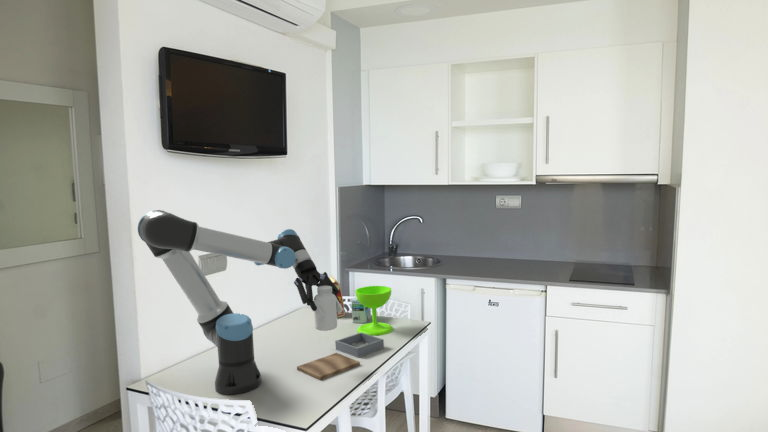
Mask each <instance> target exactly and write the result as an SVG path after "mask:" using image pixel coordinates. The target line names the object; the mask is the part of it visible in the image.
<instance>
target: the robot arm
mask: <svg viewBox="0 0 768 432" xmlns="http://www.w3.org/2000/svg"><path fill="white" fill-rule="evenodd" d="M137 233H138V236H139V238H140V240H141V241H143V242H144V243H145V244H146V246H147V247H148V249H149V251H150V252H151V253H152V255H153V256H154V258H157V259H161V260H162V261H163V263H164V264H165V265H166V267H167V269H168V270H169V272H170V273H171V274H172V276H173V278H174V279H175V281H176V283H177V284H178V285H179V287H180V289H181V290H182V291H183V293H184V295H185V296H186V297H187V299H188V301H189V303H190V304H191V305H192V307H193V309H194V310H195V311H196V313H197V314H198V315H197V319H196V320H197V323H198V324H199V326H200V328H201V329H202V332H203V335H204V336H205V338H206V340H208V341H210V342H211V343H212V344H213V345H214V346H216V347H217V354H218V355H217V357H218V358H217V359H218V368H217V373H216V376H215V380H214V389H215V391H216V392H217V393H219V394H223V395H238V394H244V393H247V392H250V391H252V390H255V389H256V388H258V387H259V386H260V385H261V384H262V375H261V373H260V370H259V368H258V365H257V363H256V360H255V351H254V350H255V348H254V332H253V331H254V327H253V323H252V319H251V317H249V316H248V315H247V314H244V313H239V312H238V313H237V312H236V313H234V312H233V310H232V308H231V306H230V305H229V304H228V302H227V301H223V300H220V297H219V296H218V294H216V291H215V290H214V288H213V287H212V285H211V284H210V281H208V279H207V277H206V276H205V274H204V272H203V271H202V269H201V268H200V266H199V264H198V263H197V261H196V260H195V258H194V256H193V255H192V254H191V251H193V250H194V251H200V252H205V253H209V254H215V255H219V256H224V257H229V258H233V259H238V260H239V259H240V260H244V261H249V262H253V264H254V265H256V266H262V265H263V266H264V265H267V266H272V267H277V268H278V269H289V268H291V267H292V268H293V269H294V271H295V273H296V275H297V277H296V278H295V280H294V282H293V283H294V286H295V287H296V288H297V291H298V294H299V297H300V299H301V302H302V304H303V305H306V306H309V307H310V308H311V310H312V312H314V311H315V312H314V314H315V313H316V314H317V316H318V318H319V319H321V318H322V317H323V315H324V314H323V312H322V310H321V308H320V307H319V305H318V303H317V302H316V300H314V295H313V293H314V292H313V286H314V287H317V288H318V287H320V286H331V287H332V294H334V295H335V296H336V309H337V312H338V314H340V313H341V312H342V310H343V308H342V307H341V305H340V300H339V299H338V297H337V295H338V293H339V290H338V289H337V287H336V286H335V285H334V284H333V282H332V281H331V280H330V278H331V277H329V276H328V273H327V272H326V271H325V272H323V273H320V272H319V271H318V270H317V269H318V268H317V266H316V264H315V262H314V261H313V260H312V257H311V255H310V254H309V253H308V251H307V249H306V247H305V245H304V244H303V242H302V240H301V238H300V236H299V235H298V234H297V232H296V231H295V230H294V229H292V228H288V229H287V228H286V229H284V230H283V231H280V233H279V234H277V239H274V240H271V241H263V240H259V239H254V238H251V237H245V236H241V235H237V234H234V233H233V234H232V233H227V232H224V231H220V230H216V229H211V228H207V227H203V226H199V224H198V222H195V221H192V220H191V221H190V220H188V219H185V218H182V217H180V216H178V215H175V214H173V213H172V212H168V211H165V210H160V209H158V210H151V211H149V212H147V213H145V214H144V215H143V216H142V217H141V218H140V219H139V221H138V223H137ZM304 285H305V286H304Z"/></svg>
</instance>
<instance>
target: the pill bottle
mask: <svg viewBox="0 0 768 432" xmlns="http://www.w3.org/2000/svg"><path fill="white" fill-rule="evenodd" d="M316 290H317V294H315V296H313V301H314V300H316V302H317V303H318V305H319V307H320V308H321V310H322V312H323V314H324V315H323V317H322V318H321V319H319V318H318V316H317V314H316V313H315V311H313V312H314V326H315V327H314V328H315V330H316V331H317V330H318V331H323V332H326V331H333V330H335V329H336V328H337V327H338V318H337V309H336V296H335V295H334V294H332V287H331V286H320V287H317V289H316Z"/></svg>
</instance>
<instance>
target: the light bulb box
mask: <svg viewBox="0 0 768 432" xmlns="http://www.w3.org/2000/svg"><path fill="white" fill-rule="evenodd" d="M351 316H352V319H351V321H352V323H353V324H367V323H368V321H369V320H370V319H371V318H372V308H368V307H365V306H364V305H362V304H361V303H360V302H359V301H358V299H357V297H356V296H355V297H353V299H352V300H351Z"/></svg>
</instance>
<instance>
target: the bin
mask: <svg viewBox="0 0 768 432" xmlns="http://www.w3.org/2000/svg"><path fill="white" fill-rule="evenodd" d="M361 342H362V343H365V344H364V345H362V346H358V347H356V346H354V345H355V344H358V343H361ZM384 343H385V342H384V339H383V338H380V337H377V336H371V335H368V334H365V333H362V332H361V333H358V332H357V333H355V334H352V335H350V336H346V337H343V338H340V339H338V340H335V350H336V351H339V352H342V353H344V354H347V355H350V356H352V357H355V358H357V359H358V358H360V357H363V356H366V355H368V354H371V353H374V352H377V351H380V350H382V349H384V348H385V346H384V345H385V344H384Z"/></svg>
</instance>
